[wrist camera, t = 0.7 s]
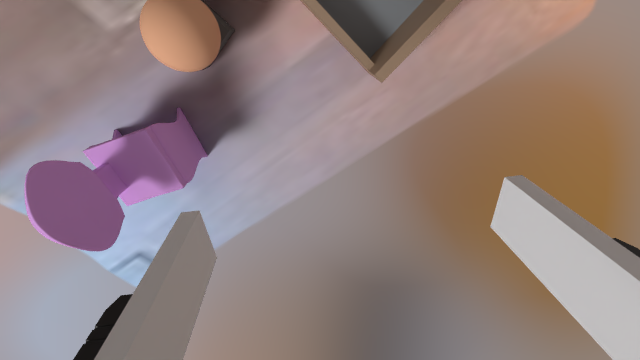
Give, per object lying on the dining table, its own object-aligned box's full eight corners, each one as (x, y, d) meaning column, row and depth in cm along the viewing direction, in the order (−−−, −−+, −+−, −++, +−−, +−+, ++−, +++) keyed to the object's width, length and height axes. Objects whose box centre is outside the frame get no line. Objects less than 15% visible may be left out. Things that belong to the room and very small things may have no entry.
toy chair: (215, 161, 35) (163, 245, 22) (152, 182, 36) (64, 275, 23) (179, 96, 31) (87, 151, 18) (108, 121, 32) (-28, 191, 19)
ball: (148, 34, 26) (108, 37, 21) (182, -25, 24) (148, -38, 19) (205, 80, 28) (183, 93, 23) (240, 30, 26) (225, 31, 21)
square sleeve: (168, 33, 28) (156, 33, 26) (193, -8, 26) (183, -11, 24) (209, 66, 29) (201, 70, 27) (234, 30, 28) (229, 30, 26)
